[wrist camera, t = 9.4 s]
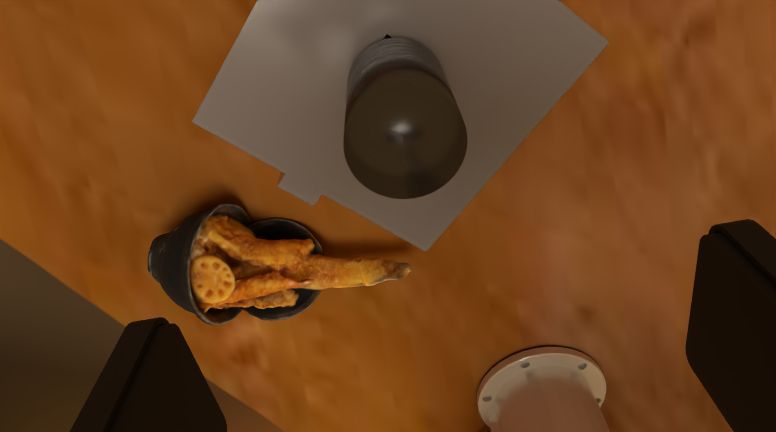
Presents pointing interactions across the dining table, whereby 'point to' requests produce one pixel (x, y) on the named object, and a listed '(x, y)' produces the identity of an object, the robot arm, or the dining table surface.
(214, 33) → the dining table surface
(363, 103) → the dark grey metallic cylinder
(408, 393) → the dining table surface
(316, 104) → the white grey-topped cylinder
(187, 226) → the fried shrimp in bowl
